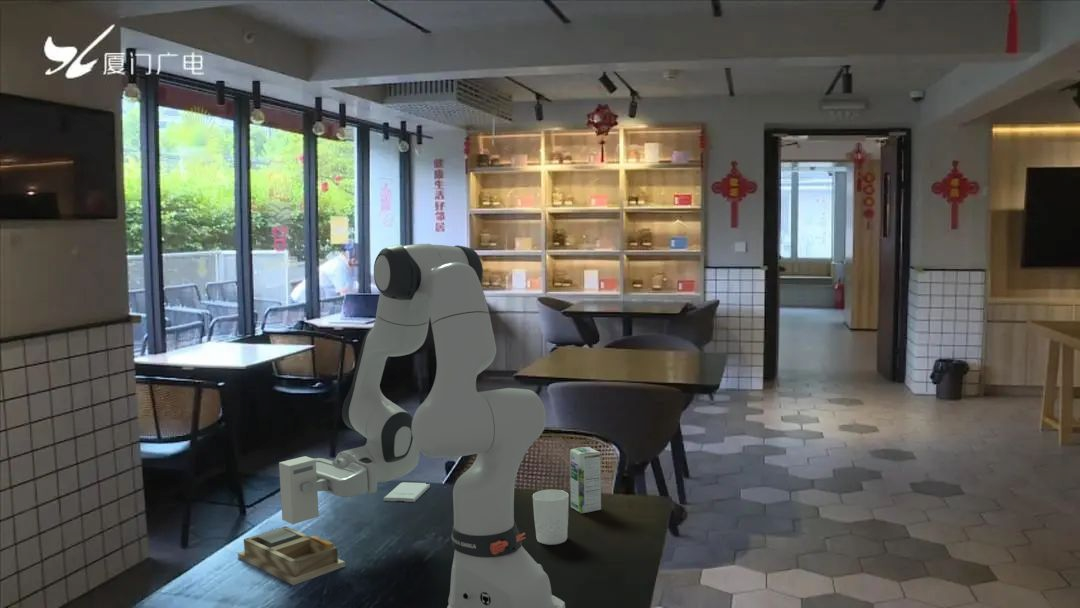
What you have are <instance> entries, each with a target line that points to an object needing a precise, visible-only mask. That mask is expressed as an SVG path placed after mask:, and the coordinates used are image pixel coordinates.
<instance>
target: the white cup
mask: <svg viewBox="0 0 1080 608" xmlns="http://www.w3.org/2000/svg"><path fill="white" fill-rule="evenodd" d="M569 499H570V496H569V493H568V492H567V491H564V490H560V489H542V490H539V491H536V492H533V494H532V507H533V508H532V509H533V517H534V518H533V521H534V528H535V536H536V540H537V542H538V543H540V544H543V545H550V546H551V545H560V544H562V543H565V542H566V541H567V539H568V527H569V503H570V502H569Z"/></svg>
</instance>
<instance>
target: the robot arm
mask: <svg viewBox="0 0 1080 608" xmlns="http://www.w3.org/2000/svg"><path fill="white" fill-rule="evenodd" d="M373 264H374V265H373V280H374V283H375V286H376V288H377V290H378V291H379V296H378V301H377V308H376V314H375V319H374V323H373V325H372V327H371V328H369V329H368V331H367V332H366V334H365V336H364V338H363V340H362V342H361V343H362V344H361V347H360V351H359V354H358V359H357V362H356V366H355V371H354V374H353V378H352V382H351V385H350V389H349V391H348V393H347V395H346V397H345V399H344V401H343V405H342V410H341V417H342V420H343V422H344V424H345V426H346V427H348V428H349V429H351V430H353V431H355V432H356V433H358V434H360V436H361V435H362V436H363V437H364V438H366V443H365V445H362V446H358V447H355V448H350V449H346V450H343V451H340V452H339V453H337V455H336V457H335V459H333V460H331V459H327V458H323V457H317V458H316V457H315V458H313V459H316V474H317V481H313V482H304V483H301V485H300V487H301V488H300V490H301V491H302V492H304V493H308V492H312V491H317V492H325V493H329V494H331V495H334V496H337V497H340V498H352V497H355V496H361V495H364V494H375V493H376V492H377V491H378V490H377V489H378V483H387V482H390V481H393V480H395V479H399V478H401V477H403V476H406V475H407V474H410V472H412V471H413V470H414V469H416V467H417V466H418V464H419V461H420V455H421V454H420V452H421V453H422V454H423V455H424V456H426V457H428V458H438V459H441V458H442V459H455V458H459V457H465V456H471V455H476V458H475V460H474V462H473V463H472V465H471V466H470V467H469V468H468V469H467V470H466V471H465V472H463V473H462V474H461V475H460V476H459V477H458V478H457V480H456V481H455V484H454V486H453V489H452V500H453V501H452V502H453V525H452V527H451V543H452V548H453V549H454V551H453V552H454V553H453V560H452V565H451V572H450V573H451V574H450V587H449V589H450V590H449V595H448V599H447V602H448V605H447V607H446V608H566V602H565V601H563V600H562V599H561V598H558V597H557V596H555V595H553V594H552V587H551V582H550V578H549V575H548V574H547V573H546V572H545V570H544V568H543V566H542V564H540V563H537V561H535V559H534V558H533V557H532V556H531V555H530V554H529V553H528V551H527V550H526V549H525V548H524V546H522V545H523V542H522V541H524V539H526V536H525V535H526V532H523V533H520V532H519V531H520V530H519V528H518V526H517V523H516V522H515V518H514V517H515V515H514V514H515V511H514V509H515V508H514V507H515V506H514V505H515V503H514V502H515V501H514V500H515V484H516V478H517V474H518V472H519V468H520V466H521V464H522V461H523V459H524V458H525V455H526V453H527V452H528V451H529V448H530V449H531V446H532V445H533V444H534V443H535V442H536V441H537V440H538V439H539V438H540V437H541V435H542V434H543V432H544V429H545V427H546V422H547V413H546V412H547V411H546V408H545V405H544V403H543V401H542V399H541V398H540V396H539V395H538V394H537V393H536V392H535V391H534V390H532V389H525V388H517V387H515V388H513V387H507V388H500V389H492V390H483V391H478V389H477V377H478V376H479V374H481V373H482V372H483V371H485V370H486V369H487V368H488V367H489V366H491V364H492V363H493V362H494V360H495V359H496V358H495V357H496V355H497V345H496V340H495V339H496V338H495V335H494V330H493V326H492V321H491V315H490V311H489V306H488V303H487V299H486V295H485V292H484V290H483V286H482V281H483V277H484V276H483V275H484V269H483V262H482V260H481V257H480V256H479V254H478V253H477V251H476V250H474V249H472V248H470V247H467V246H463V245H454V246H453V245H444V244H431V243H414V244H406V245H401V244H395V245H391V246H388V247H387V246H386V247H384V248H382V249H381V250H380V251H379V253H378V254H377V256H376V258H375V261H374V263H373ZM429 323H430V324H431V325H429ZM429 326H431V331H432V335H433V341H434V349H435V350H434V351H435V358H436V370H435V371H436V372H435V373H436V374H435V378H434V381H433V385H432V387H431V390H430V392H429V394H428V395H427V397H426V398H425V399H424V401H423V402H421V404H420V405H419V406H418V407H417V408H416V411H415V412H414V415H413V416H412V415H411V414H410V413H409V412H408V411H406V410H405V409H403V408H402V407H400V406H399V405H398V404H397V403H394V402H392V400H390V399H389V398H387V397H386V396H385V395H384V394H383V392H382V389H381V386H380V384H381V381H382V377H383V373H384V370H385V366H386V361H387V359H388V357H393V358H394V357H402V356H406V355H411V354H413V353H415V352H417V350H419V349H420V348H421V347H422V346H423V345H424V344H425V341H426V339H427V336H428V331H429ZM524 536H525V537H524Z"/></svg>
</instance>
